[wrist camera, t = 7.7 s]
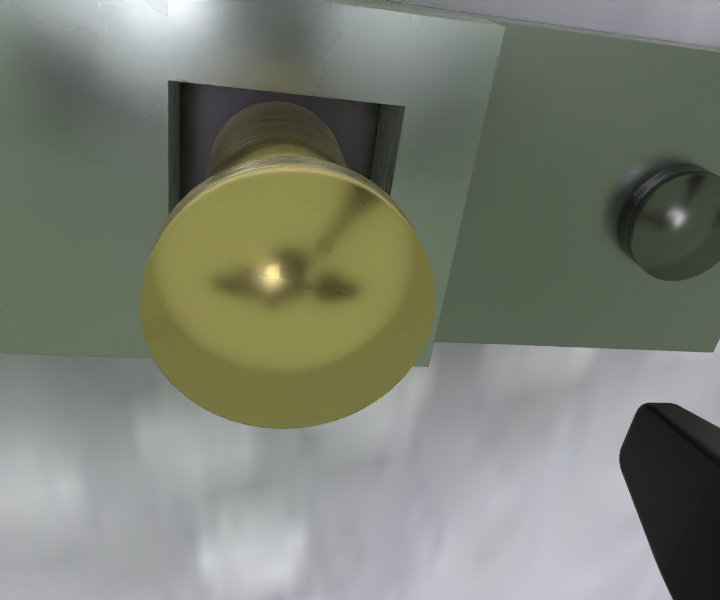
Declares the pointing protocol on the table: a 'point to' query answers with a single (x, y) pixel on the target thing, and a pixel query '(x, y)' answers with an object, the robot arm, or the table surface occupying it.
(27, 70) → the plate with square hole
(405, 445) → the table surface
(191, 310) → the brass pin
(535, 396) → the table surface
